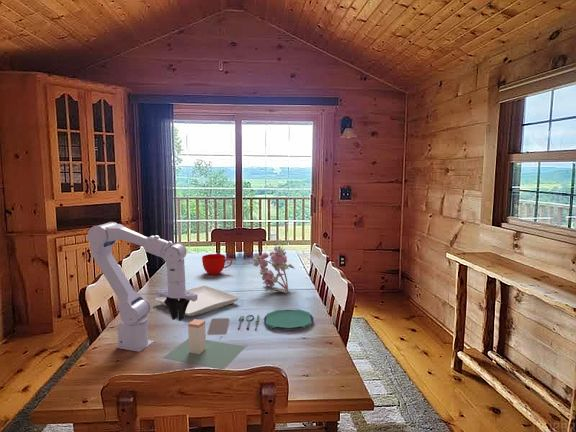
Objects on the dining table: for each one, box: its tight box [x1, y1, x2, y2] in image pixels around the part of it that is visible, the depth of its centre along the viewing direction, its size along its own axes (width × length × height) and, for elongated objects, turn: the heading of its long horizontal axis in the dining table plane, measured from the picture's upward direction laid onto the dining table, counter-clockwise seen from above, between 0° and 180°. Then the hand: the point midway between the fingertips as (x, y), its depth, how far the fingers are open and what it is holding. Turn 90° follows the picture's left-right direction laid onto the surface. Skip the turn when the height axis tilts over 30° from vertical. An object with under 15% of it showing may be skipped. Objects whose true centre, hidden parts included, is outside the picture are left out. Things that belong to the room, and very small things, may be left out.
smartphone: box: [206, 317, 231, 336], centre depth 152 cm, size 7×1×15 cm
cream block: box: [187, 318, 207, 354], centre depth 131 cm, size 4×4×10 cm
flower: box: [249, 245, 296, 295], centre depth 196 cm, size 20×22×25 cm
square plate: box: [154, 285, 240, 317], centre depth 176 cm, size 27×27×4 cm
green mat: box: [162, 338, 246, 370], centre depth 131 cm, size 22×16×1 cm
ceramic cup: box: [201, 253, 233, 276], centre depth 225 cm, size 13×17×10 cm
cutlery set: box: [237, 309, 315, 331], centre depth 157 cm, size 20×30×2 cm, turn 91°
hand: (178, 319), depth 133 cm, fingers open, 2 cm apart
